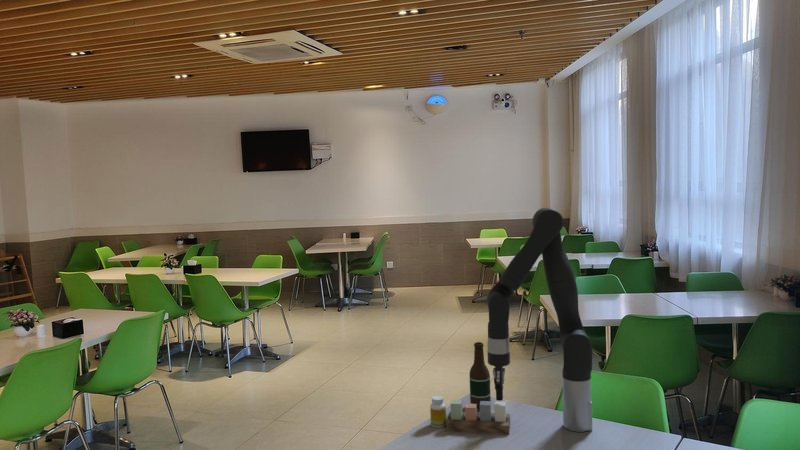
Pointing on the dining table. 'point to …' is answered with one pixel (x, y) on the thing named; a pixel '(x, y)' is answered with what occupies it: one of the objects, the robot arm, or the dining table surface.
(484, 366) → the beer bottle
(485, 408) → the key slate
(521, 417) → the dining table surface
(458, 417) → the key sage
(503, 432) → the brown wooden slotted tray
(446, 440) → the dining table surface
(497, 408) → the key ivory
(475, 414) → the salmon pink block
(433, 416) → the supplement bottle
